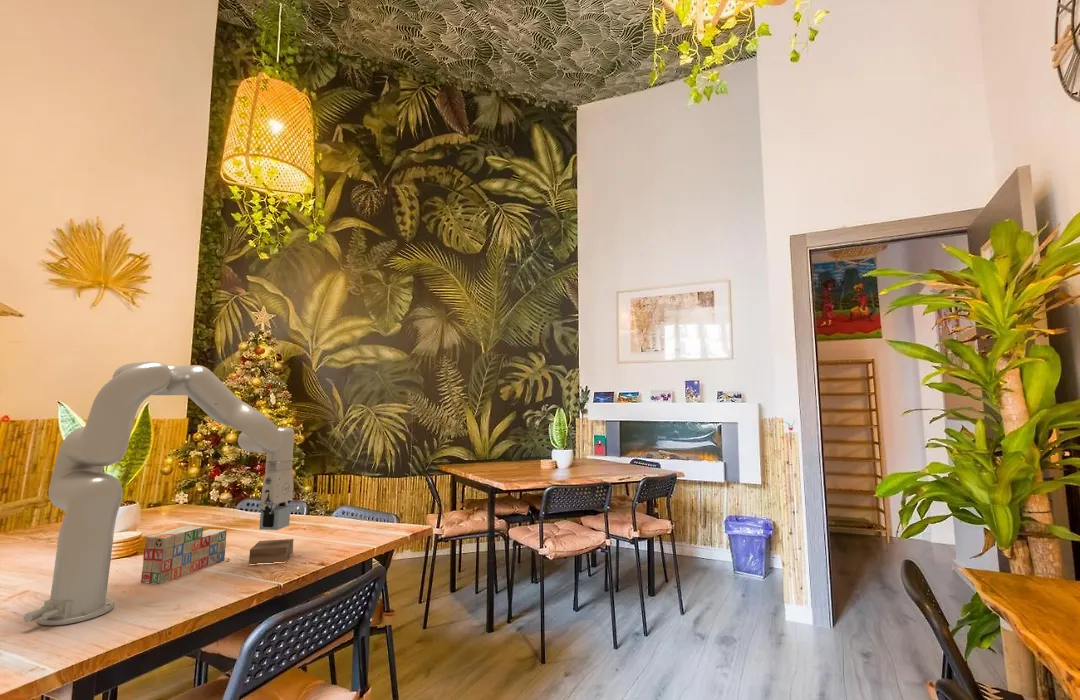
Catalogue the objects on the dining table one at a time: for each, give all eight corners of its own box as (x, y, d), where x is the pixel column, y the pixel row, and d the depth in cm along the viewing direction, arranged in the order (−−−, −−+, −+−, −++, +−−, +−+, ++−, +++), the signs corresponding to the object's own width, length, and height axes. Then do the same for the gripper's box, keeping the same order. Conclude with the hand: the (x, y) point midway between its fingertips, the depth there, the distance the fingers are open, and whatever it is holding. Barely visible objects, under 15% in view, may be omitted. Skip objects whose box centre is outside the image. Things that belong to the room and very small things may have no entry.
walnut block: (285, 564, 147) (286, 547, 147) (248, 566, 144) (249, 549, 145) (292, 554, 156) (293, 538, 157) (258, 557, 154) (259, 540, 154)
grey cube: (277, 530, 148) (279, 510, 149) (259, 529, 149) (260, 509, 150) (289, 525, 154) (290, 506, 155) (271, 524, 155) (272, 505, 155)
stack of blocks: (207, 559, 150) (211, 518, 152) (224, 560, 149) (228, 519, 151) (140, 583, 129) (145, 535, 131) (159, 584, 128) (164, 537, 130)
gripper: (273, 470, 145) (268, 531, 143) (305, 463, 162) (301, 518, 160) (249, 469, 146) (244, 530, 143) (284, 463, 163) (280, 517, 160)
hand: (274, 523), depth 152 cm, fingers closed on grey cube, 6 cm apart
